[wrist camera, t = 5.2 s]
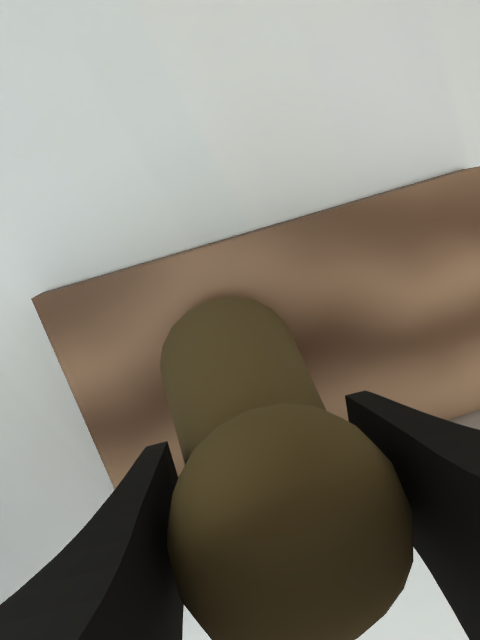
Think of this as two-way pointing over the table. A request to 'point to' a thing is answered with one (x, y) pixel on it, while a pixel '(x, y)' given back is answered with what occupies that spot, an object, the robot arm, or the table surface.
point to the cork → (274, 488)
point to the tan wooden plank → (293, 312)
